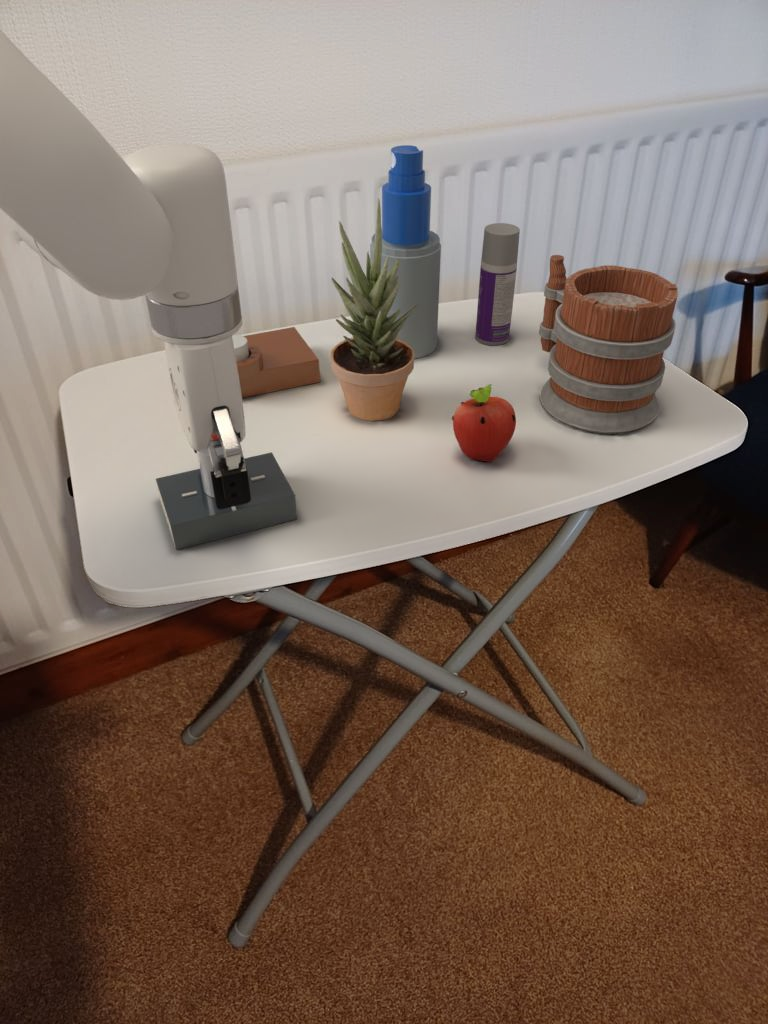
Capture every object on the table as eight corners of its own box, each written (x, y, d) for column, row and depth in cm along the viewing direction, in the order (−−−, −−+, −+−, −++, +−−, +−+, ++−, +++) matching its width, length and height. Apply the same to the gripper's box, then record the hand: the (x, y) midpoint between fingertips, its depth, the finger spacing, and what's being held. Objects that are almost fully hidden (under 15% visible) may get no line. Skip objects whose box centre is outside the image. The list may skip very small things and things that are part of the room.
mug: (587, 447, 87) (612, 322, 78) (493, 372, 101) (504, 258, 91) (683, 418, 92) (717, 296, 83) (581, 350, 106) (600, 239, 96)
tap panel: (176, 551, 74) (170, 525, 72) (160, 501, 80) (154, 476, 78) (297, 519, 78) (295, 494, 76) (274, 474, 83) (271, 450, 81)
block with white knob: (219, 408, 94) (213, 371, 91) (198, 366, 102) (193, 331, 99) (323, 386, 98) (321, 350, 95) (296, 348, 106) (293, 313, 103)
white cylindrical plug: (223, 366, 93) (220, 350, 91) (216, 353, 95) (213, 337, 94) (252, 360, 94) (250, 345, 92) (244, 347, 96) (243, 332, 95)
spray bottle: (382, 363, 103) (381, 161, 87) (363, 334, 109) (359, 141, 94) (446, 354, 105) (456, 154, 89) (423, 326, 111) (429, 136, 96)
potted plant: (339, 433, 90) (330, 214, 74) (328, 392, 97) (317, 184, 81) (424, 424, 91) (432, 207, 76) (407, 384, 98) (411, 179, 83)
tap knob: (249, 492, 76) (243, 446, 73) (209, 502, 75) (201, 457, 71) (238, 470, 79) (231, 425, 76) (198, 480, 78) (190, 435, 74)
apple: (443, 441, 88) (447, 361, 82) (501, 434, 89) (509, 355, 83) (461, 480, 83) (467, 398, 76) (523, 473, 84) (534, 391, 77)
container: (469, 333, 110) (477, 225, 100) (499, 328, 111) (509, 220, 101) (484, 348, 106) (494, 237, 97) (515, 342, 107) (527, 232, 98)
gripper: (133, 278, 70) (165, 438, 81) (169, 362, 58) (202, 539, 68) (215, 266, 73) (237, 423, 83) (267, 345, 60) (284, 518, 71)
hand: (221, 475), depth 76 cm, fingers open, 9 cm apart
